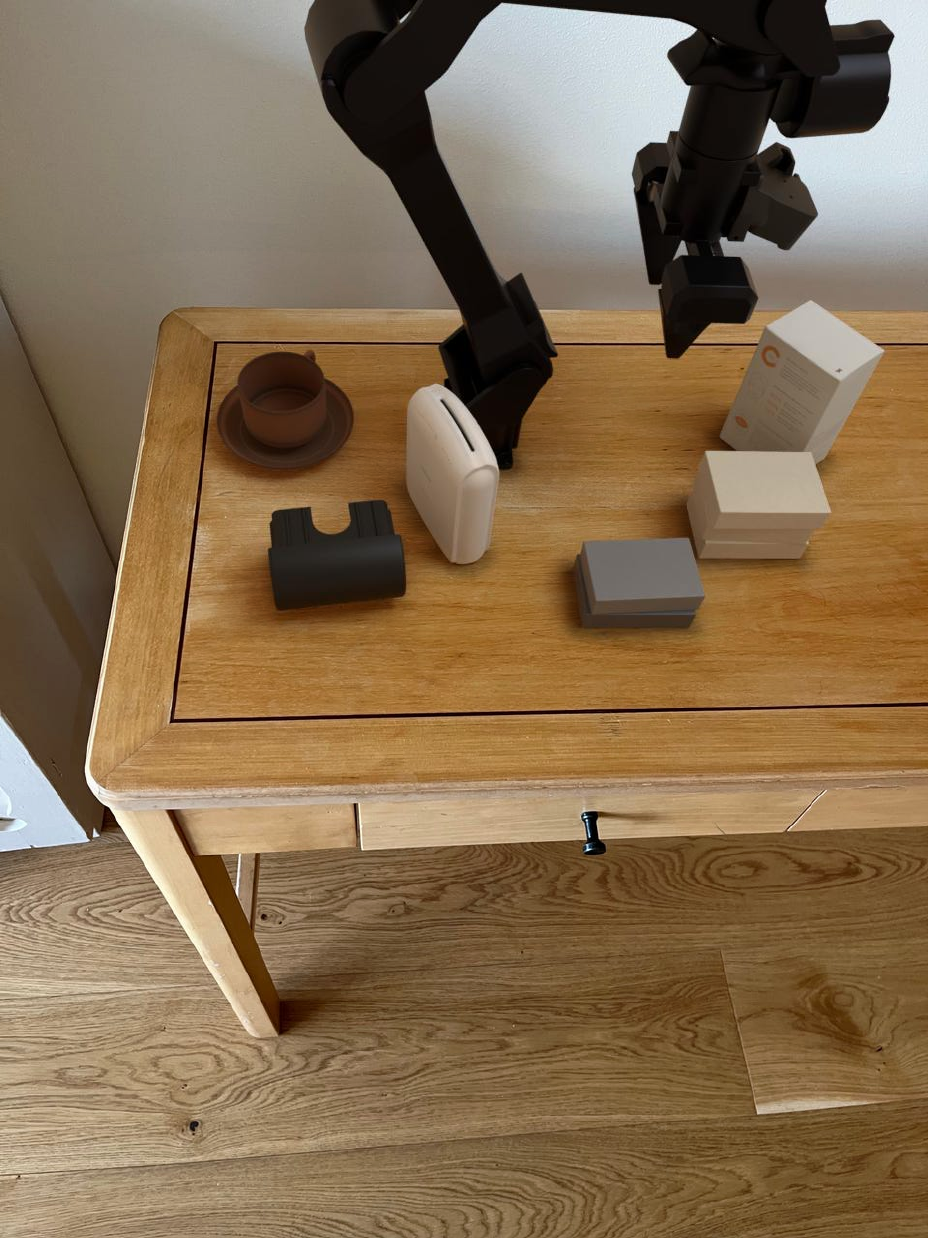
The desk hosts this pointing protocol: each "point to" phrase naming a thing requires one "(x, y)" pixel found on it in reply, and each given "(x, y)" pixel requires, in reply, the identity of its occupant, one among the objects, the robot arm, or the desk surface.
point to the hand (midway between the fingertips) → (663, 319)
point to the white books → (740, 535)
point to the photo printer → (450, 473)
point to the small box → (800, 384)
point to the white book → (763, 490)
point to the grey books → (637, 583)
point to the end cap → (335, 558)
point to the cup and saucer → (284, 413)
